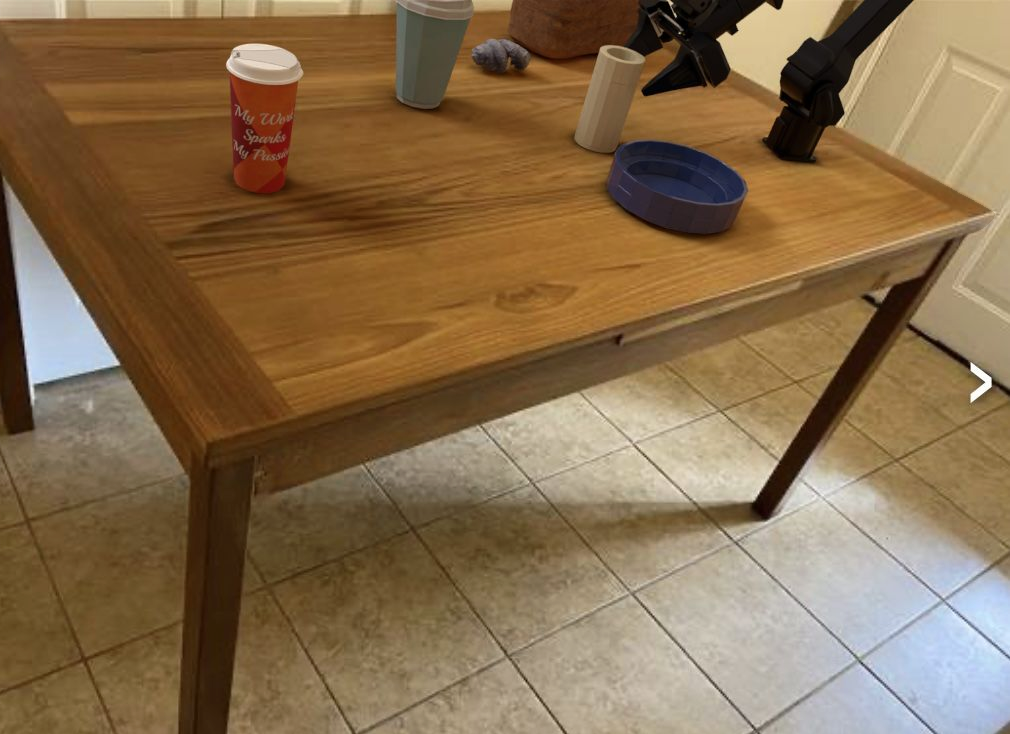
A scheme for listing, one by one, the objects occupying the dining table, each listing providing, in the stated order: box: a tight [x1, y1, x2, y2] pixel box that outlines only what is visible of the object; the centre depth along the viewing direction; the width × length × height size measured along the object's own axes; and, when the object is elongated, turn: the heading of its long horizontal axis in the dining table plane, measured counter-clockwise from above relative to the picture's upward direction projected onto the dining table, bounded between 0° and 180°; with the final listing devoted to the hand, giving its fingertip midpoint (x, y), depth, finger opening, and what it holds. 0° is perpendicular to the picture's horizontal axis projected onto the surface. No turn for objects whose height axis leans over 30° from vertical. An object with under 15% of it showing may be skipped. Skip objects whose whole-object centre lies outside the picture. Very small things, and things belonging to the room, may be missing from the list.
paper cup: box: [225, 43, 304, 194], centre depth 94 cm, size 8×8×14 cm
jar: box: [574, 45, 646, 154], centre depth 120 cm, size 6×6×12 cm
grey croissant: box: [470, 38, 532, 75], centre depth 136 cm, size 5×5×10 cm
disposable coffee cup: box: [394, 0, 475, 110], centre depth 119 cm, size 11×11×15 cm
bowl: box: [606, 138, 749, 235], centre depth 112 cm, size 17×17×4 cm
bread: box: [507, 0, 640, 60], centre depth 150 cm, size 14×28×12 cm, turn 135°
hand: (628, 79), depth 118 cm, fingers open, 9 cm apart
